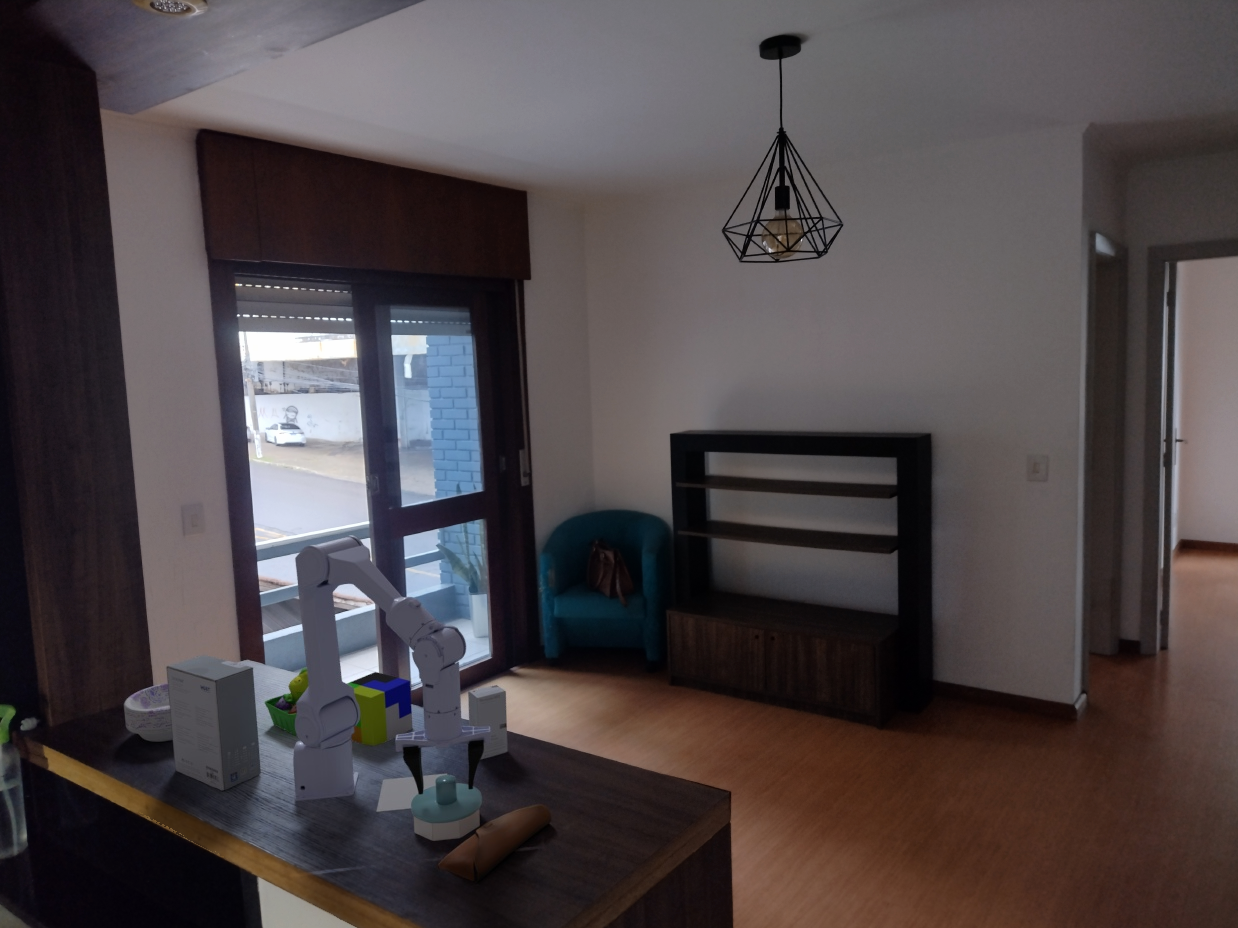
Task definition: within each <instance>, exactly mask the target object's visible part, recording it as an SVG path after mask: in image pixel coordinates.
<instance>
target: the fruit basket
mask: <svg viewBox="0 0 1238 928" xmlns="http://www.w3.org/2000/svg"><path fill="white" fill-rule="evenodd" d="M308 686H309V684H308V674H307V666H306V667H303V668H302V669H301V670H300V672H299V674H298V675H297V676H295V677H294V678H293V679H292V680H291V681H289V684H288V690H289V692H290V693H283V694H282V695H280V696H276V697H272V698H269V699H267V700H265V701H264V704H265V707H266V708H267V711H268V712H269V716H270V718H271V721H272V724H273V725H274V726H275V727H278V728H279V729H281V730H284V731H286V732H288V733H289V734H291V735H293V736H297V734H296V731H295V718H296V715H297V706H296V703H297V701H298V700H299V698H300V697H301V696H302V694H303V693H304V692H305V690H306V689H307V688H308Z"/></svg>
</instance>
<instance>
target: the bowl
mask: <svg viewBox="0 0 1238 928" xmlns="http://www.w3.org/2000/svg"><path fill="white" fill-rule="evenodd" d="M480 819H481V818H480V808H479V809H478V810H477V811H476V812H475V813H474V814H472V815H470V816H468V817H466V818H464V819H461V820H458V821H454V822H449V823H429V822H425V821H422V820H419V819H417V818H416V817H415V816H414V815H413V831H414V834H417V835H419V836H421V837H423V838H425V839H427V840H430V841H434V842H436V841H443V840H452V839H453V840H454V839H460V838H463V837H464V836H466V835H467V834H469V833H470V832H472V831H474V830H475V829H478V827H481V826H480Z"/></svg>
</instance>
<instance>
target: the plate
mask: <svg viewBox="0 0 1238 928" xmlns="http://www.w3.org/2000/svg"><path fill="white" fill-rule="evenodd" d="M443 775H448V773H440V774H439V773H438V774H430V775H429V774H428V775H423V781H424V790H425V789H427V788H430V787H433V786H436V783H435V780H436V779H437V778H438V777H440V776H443ZM417 794H418V789H417V785H416V782H415V780H414V777H413V776H407V777H397V778H387V779H383V780H382V784H381V788H380V794H379V798H378V803H377V808H376V813H381V812H382V813H383V812H391V811H401V810H403V811H404V810H411V802H412V800H413V798H414V797H415V796H416V795H417Z"/></svg>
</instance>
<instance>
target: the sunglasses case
mask: <svg viewBox="0 0 1238 928" xmlns="http://www.w3.org/2000/svg"><path fill="white" fill-rule="evenodd" d="M551 822H552V814H551V812H550V810H549V808H548V807H547V806H546V805H544V804H543V803H542V804H541V803H539V804H538V803H537V804H533V805H528V806H526V807H522V808H518V809H515V810H513V811H511V812H507V813H505V814H503V815H501V816H499V817H496V818H495V819H491V820H489V821H488V822H486V823H484V824H483V825H482V826H479V828H476V830H475V833H474V834H473V835H471V836H470V837H468V838H467V839H466V840H464V841H463V842H462V843H460V844H459V845H458V846H457V847H455V848H454V849H453V850H451V851H450V852H449V853H448V854H447V855H446V856H444V857H443V858H442V860H441V861H439V863H437V867H438V868H439V869H442V870H445V871H448V872H450V873H451V874H452V873H453V874H455V875H457V876H460V877H462V878H464V879H468V880H469V881H472V882H474V883H475V884H477V883H478V882H479V881H481V880H482V879H484V878H485V877H486V876H487V875H488V874H489V873H491V872H492V870H493V869H494V868H496V867H497V866H498V865H499V864H500V863H501V862H503V860H505V859H506V858H507V857H508V855H510V854H512V853H513V852H514V851H515V850H517V849H518V848H519V847H521V846H522V845H523V844H525V842H526V841H528V840H529V839H530V838H532V837H534V835H535V834H537V833H539V832H540V831H541V830H542V829H543V828H545V827H546V826H548V825H549V824H550V823H551Z"/></svg>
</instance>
